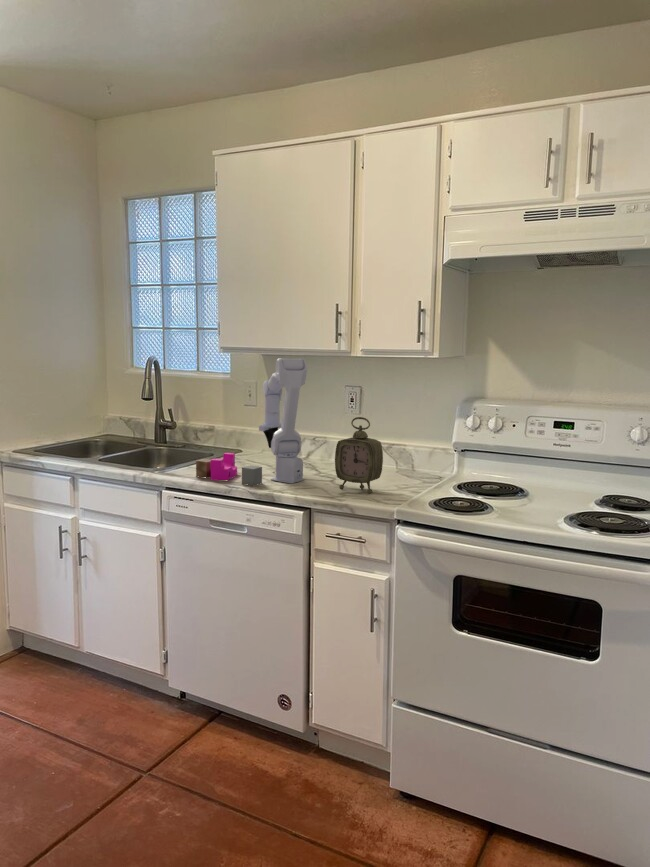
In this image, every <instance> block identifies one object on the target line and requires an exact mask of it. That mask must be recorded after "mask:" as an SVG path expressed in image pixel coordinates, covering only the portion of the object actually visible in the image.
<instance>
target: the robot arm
mask: <svg viewBox="0 0 650 867" xmlns="http://www.w3.org/2000/svg"><path fill="white" fill-rule="evenodd" d="M274 368H275V372H274V373H272V374H271V376H270V378H269V380H264V381H263V385H262V393H263V396H264V422H263V423H262V424H261V425H258V431H259V432H263V434H264V436H265V438H266V441H267V446H268V449H271V453H272V454H273V456H275V477H272V478H270V481H273V482H282V483H287V484H296V483H298V482H302V481H304V480H305V478H304V462H303V459H302V458H301V457H298V455H299V454H300V453H301V450H302V437H301V434H300V433H299V432H298V431H297V430H296V428H295V427H296V422H297V420H296V419H297V414H298V413H297V412H298V405H299V398H300V392H301V387H303V386H304V385H305V384H306V379H307V373H308V366H307V361H306V359H305V358H302V357H301V358H281V357H279V358H277V359H276V360H275V367H274ZM283 387H284V388H285V391H284V392H285V393H284V400H283V410H282V417H281V414H280V413H281V401H282V395H283Z"/></svg>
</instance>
